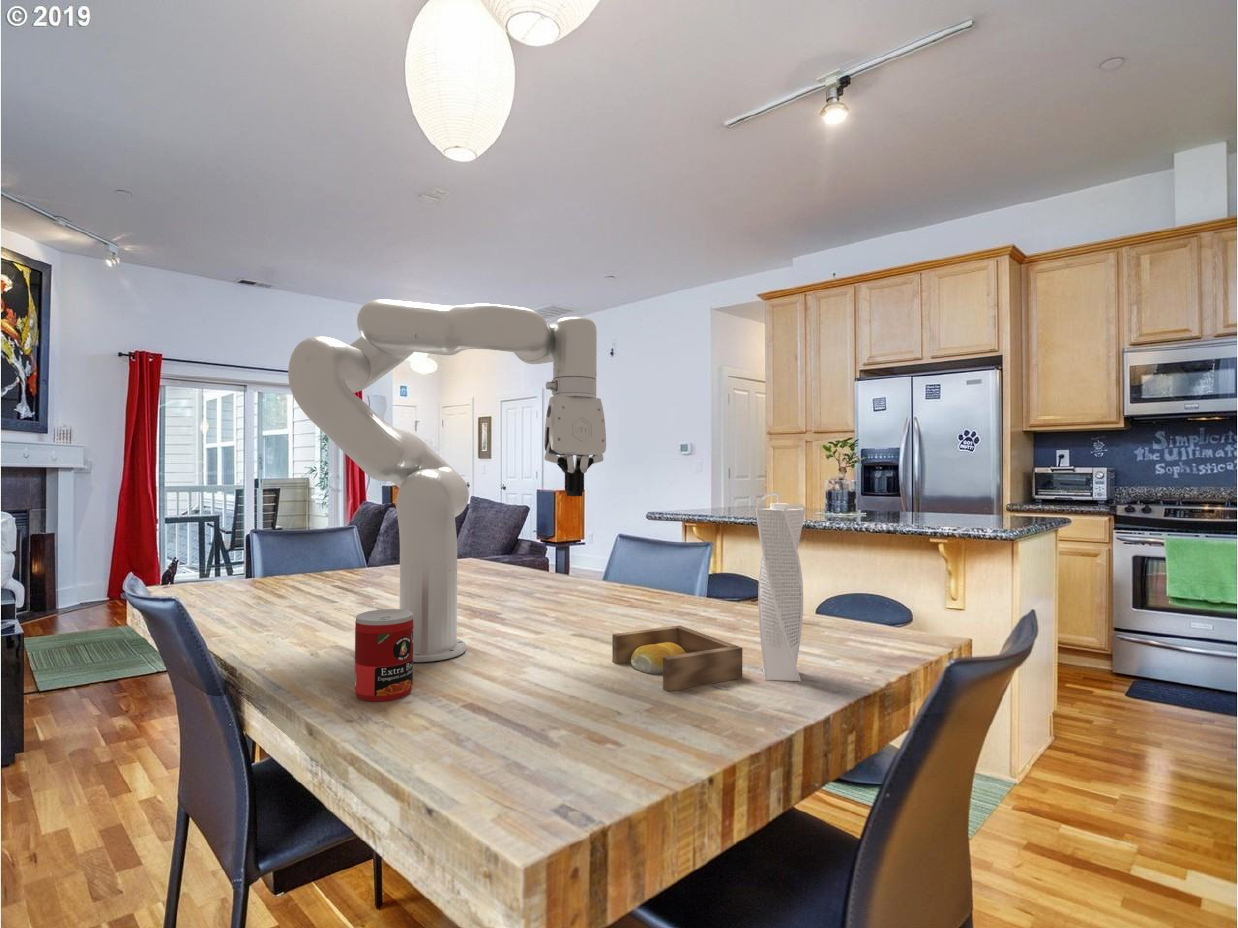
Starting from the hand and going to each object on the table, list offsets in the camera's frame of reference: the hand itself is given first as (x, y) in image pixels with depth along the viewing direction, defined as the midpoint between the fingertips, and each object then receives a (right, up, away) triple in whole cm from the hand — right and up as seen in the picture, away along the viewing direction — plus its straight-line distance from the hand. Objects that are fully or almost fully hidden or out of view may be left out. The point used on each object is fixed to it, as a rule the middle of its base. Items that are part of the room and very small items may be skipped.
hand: (574, 495), depth 112 cm
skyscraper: (+33, -27, -12) cm, 44 cm away
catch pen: (+16, -27, -10) cm, 33 cm away
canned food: (-25, -27, -21) cm, 42 cm away
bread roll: (+14, -28, -8) cm, 32 cm away
